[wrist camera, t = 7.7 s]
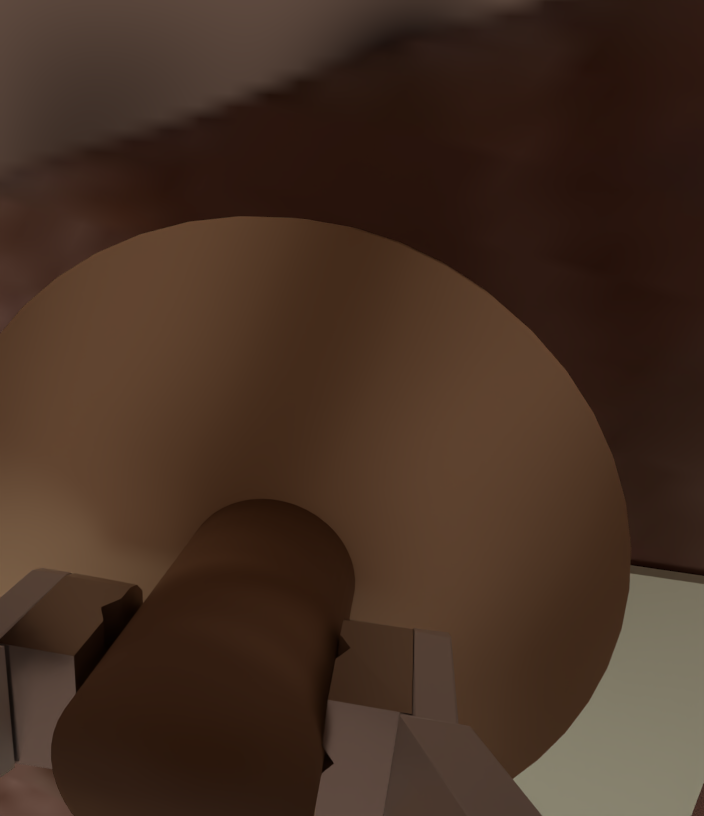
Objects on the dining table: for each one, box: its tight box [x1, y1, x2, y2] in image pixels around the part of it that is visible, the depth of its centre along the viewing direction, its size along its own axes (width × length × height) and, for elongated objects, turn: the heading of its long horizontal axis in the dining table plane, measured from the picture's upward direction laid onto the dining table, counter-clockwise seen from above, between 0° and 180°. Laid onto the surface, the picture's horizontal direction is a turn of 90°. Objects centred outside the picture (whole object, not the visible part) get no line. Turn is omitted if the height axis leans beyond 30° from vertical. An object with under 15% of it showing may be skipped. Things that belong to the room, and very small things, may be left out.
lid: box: [0, 216, 631, 816], centre depth 9 cm, size 12×12×5 cm
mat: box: [513, 565, 704, 816], centre depth 23 cm, size 12×12×1 cm
